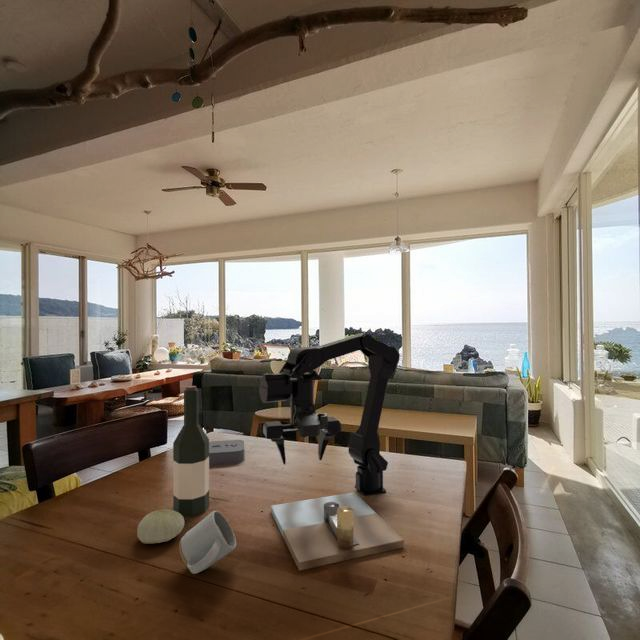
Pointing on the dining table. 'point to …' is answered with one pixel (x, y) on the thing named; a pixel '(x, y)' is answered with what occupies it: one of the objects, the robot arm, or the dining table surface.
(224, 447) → the streaming box
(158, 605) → the dining table surface
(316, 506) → the door board
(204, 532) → the ceramic mug
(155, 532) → the sea urchin shell
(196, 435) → the wine bottle
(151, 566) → the dining table surface
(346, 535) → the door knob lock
